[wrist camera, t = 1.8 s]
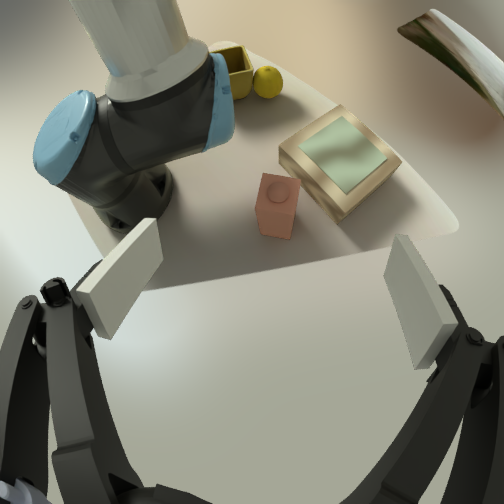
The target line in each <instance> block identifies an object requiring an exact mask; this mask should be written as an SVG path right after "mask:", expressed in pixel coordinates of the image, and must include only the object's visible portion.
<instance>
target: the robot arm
mask: <svg viewBox="0 0 504 504" xmlns="http://www.w3.org/2000/svg"><path fill="white" fill-rule="evenodd" d="M69 2H70V4H71V6H72V7H73V9H74V11H75V13H76V15H77V16H78V18H79V20H80V22H81V23H82V25H83V27H84V29H85V30H86V32H87V34H88V36H89V38H90V39H91V41H92V42H93V44H94V46H95V48H96V49H97V51H98V53H99V55H100V56H101V58H102V60H103V62H104V63H105V65H106V66H107V68H108V70H109V72H110V75H109V78H108V80H107V83H106V86H105V93H106V94H105V95H103V96H101V97H99V98H96V97H95V95H94V94H93V93H92V92H89V91H87V90H86V91H83V90H79V91H76V92H74V93H72V94H70V95H68V96H67V97H66V98H64V99H63V100H62V101H61V102H60V103H59V104H58V105H57V106H56V107H55V108H54V109H53V111H52V112H51V113H50V114H49V116H48V117H47V119H46V121H45V122H44V124H43V126H42V127H41V130H40V132H39V134H38V136H37V139H36V142H35V146H34V151H33V163H34V167H35V169H36V171H37V172H38V173H39V174H40V175H41V176H43V177H44V178H45V179H47V180H48V181H49V183H50V184H52V185H55V186H57V187H59V188H60V189H62V190H64V191H66V192H67V193H69V194H71V195H73V196H75V197H76V198H78V199H80V200H82V201H84V202H86V203H87V204H89V205H91V206H92V207H93V208H94V210H95V212H96V213H97V215H98V216H99V218H100V219H101V221H102V222H103V223H104V224H105V225H107V226H108V227H109V228H111V229H113V230H115V231H118V232H120V233H127V234H128V235H127V236H126V237H125V238H124V239H123V240H122V241H121V242H120V243H119V244H118V245H117V246H116V247H115V248H114V249H113V250H112V251H111V252H110V253H109V254H108V255H107V256H106V257H105V258H104V259H103V260H100V261H99V262H97V263H96V264H94V265H93V266H92V267H91V268H90V269H89V271H88V272H87V273H86V274H85V275H84V277H82V278H81V279H80V280H79V281H78V283H77V284H76V285H75V286H74V287H73V288H72V289H71V291H70V292H69V289H68V287H67V285H66V282H65V280H64V279H63V278H59V277H57V278H53V279H51V280H49V281H47V282H46V283H44V285H43V286H42V287H41V290H40V292H41V294H42V296H43V298H44V300H45V302H46V303H42V304H41V303H39V301H38V299H37V297H36V296H35V295H29V296H26V297H25V298H23V299H22V300H21V301H20V302H19V304H18V305H17V307H16V310H15V312H14V315H13V317H12V319H11V322H10V324H9V327H8V330H7V332H6V335H5V338H4V341H3V344H2V347H1V350H0V504H52V503H51V502H49V501H48V500H47V492H48V425H49V410H50V405H51V411H52V418H53V424H54V430H55V435H56V440H57V446H58V447H57V450H56V451H54V452H53V453H52V464H53V468H54V471H55V475H56V479H57V482H58V486H59V489H60V492H61V495H62V498H63V501H64V504H212V503H210V502H207V501H205V500H203V499H201V498H199V497H196V496H194V495H192V494H190V493H187V492H183V491H180V490H176V489H173V488H169V487H166V486H163V485H159V484H156V487H144V486H143V484H142V482H141V480H140V478H139V476H138V475H137V473H136V472H135V471H134V470H133V469H132V467H131V465H130V464H129V462H128V459H127V457H126V454H125V452H124V449H123V447H122V444H121V441H120V439H119V436H118V433H117V430H116V427H115V424H114V422H113V418H112V415H111V412H110V409H109V406H108V402H107V399H106V395H105V391H104V388H103V384H102V380H101V376H100V372H99V367H98V363H97V358H96V353H95V348H94V343H93V338H92V336H91V334H90V332H91V331H92V329H93V328H94V329H95V331H96V333H97V335H98V336H99V337H102V338H105V339H109V340H111V339H112V338H113V336H114V334H115V333H116V331H117V329H118V328H119V326H120V325H121V323H122V321H123V320H124V318H125V316H126V315H127V313H128V312H129V310H130V309H131V307H132V306H133V304H134V302H135V301H136V299H137V298H138V296H139V295H140V293H141V292H142V290H143V289H144V287H145V286H146V284H147V283H148V281H149V280H150V279H151V277H152V276H153V274H154V273H155V271H156V270H157V268H158V267H159V265H160V264H161V263H162V261H163V260H164V259H163V254H162V248H161V243H160V238H159V232H158V227H157V221H156V220H157V219H158V218H159V217H160V216H161V215H162V213H163V212H164V210H165V209H166V207H167V205H168V203H169V200H170V197H171V193H172V177H171V173H170V171H169V169H168V167H167V166H166V165H165V163H167V162H170V161H173V160H176V159H180V158H183V157H186V156H190V155H193V154H197V153H200V152H201V153H202V152H205V151H207V150H208V149H210V148H213V147H216V146H219V145H222V144H225V143H226V142H228V141H229V140H230V139H231V138H232V136H233V133H234V127H235V119H234V106H233V98H232V93H231V90H230V89H231V86H230V78H229V73H228V69H227V65H226V62H225V59H224V57H223V55H221V54H218V53H217V54H215V53H210V54H209V51H208V47H207V45H206V44H205V43H204V42H203V41H201V40H198V39H195V38H192V37H190V36H188V34H187V31H186V28H185V25H184V22H183V19H182V16H181V13H180V10H179V7H178V4H177V1H176V0H69ZM384 279H385V281H386V284H387V286H388V289H389V291H390V294H391V297H392V299H393V303H394V305H395V308H396V311H397V314H398V317H399V320H400V323H401V326H402V329H403V332H404V335H405V339H406V342H407V345H408V349H409V352H410V355H411V359H412V363H413V366H414V370H417V369H428V368H429V367H430V366H431V365H432V363H433V362H434V360H436V364H437V368H436V369H435V371H434V372H433V373H432V374H431V376H430V377H429V378H428V380H427V382H428V384H427V386H426V388H425V390H424V392H423V394H422V395H421V397H420V399H419V401H418V403H417V404H416V406H415V408H414V409H413V411H412V413H411V415H410V416H409V418H408V419H407V421H406V423H405V424H404V426H403V427H402V429H401V431H400V432H399V433H398V435H397V437H396V438H395V439H394V441H393V442H392V444H391V445H390V446H389V448H388V449H387V451H386V452H385V453H384V455H383V456H382V457H381V459H380V460H379V461H378V463H377V464H376V465H375V467H374V468H373V469H372V470H371V472H370V473H369V474H368V475H367V476H366V478H365V479H364V480H363V481H362V482H361V483H360V485H359V486H358V487H357V488H356V489H355V490H354V491H353V492H352V493H351V494H350V495H349V496H348V497H347V498H346V499H345V500H343V501H342V502H341V503H340V504H418V501H419V500H420V498H421V496H422V495H423V493H424V492H425V490H426V489H427V487H428V485H429V484H430V482H431V480H432V479H433V477H434V475H435V474H436V472H437V470H438V468H439V467H440V465H441V463H442V461H443V459H444V457H445V455H446V453H447V451H448V449H449V447H450V445H451V443H452V441H453V439H454V436H455V434H456V432H457V430H458V428H459V425H460V423H461V421H462V418H463V423H462V429H461V434H460V439H459V443H458V448H457V452H456V456H455V460H454V464H453V467H452V471H451V474H450V477H449V480H448V484H447V487H446V490H445V492H444V495H443V498H442V501H441V503H440V504H504V336H501V337H500V338H499V339H498V340H497V342H496V343H491V342H487V341H485V340H484V337H483V336H482V334H481V333H480V332H479V331H478V330H476V329H474V328H472V327H468V325H467V323H466V321H465V319H464V317H463V315H462V313H461V311H460V310H459V308H458V307H457V304H456V302H455V301H454V299H453V297H452V295H451V293H450V292H449V290H447V289H446V288H445V287H444V286H443V285H438V284H437V282H436V280H435V278H434V277H433V275H432V273H431V272H430V270H429V268H428V267H427V265H426V263H425V262H424V260H423V259H422V257H421V255H420V254H419V252H418V251H417V249H416V248H415V246H414V245H413V243H412V241H411V240H410V238H409V237H408V235H399V234H395V238H394V241H393V245H392V249H391V253H390V256H389V259H388V263H387V266H386V270H385V273H384ZM33 338H34V339H35V344H33V343H32V339H33ZM463 416H464V417H463Z"/></svg>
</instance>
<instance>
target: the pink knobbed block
mask: <svg viewBox="0 0 504 504" xmlns="http://www.w3.org/2000/svg"><path fill="white" fill-rule="evenodd" d="M300 183H301V179H295V178H290V177H284V176H279V175H273V174H267V173H263V174H262V179H261V183H260V188H259V192H258V196H257V201H256V205H255V211H256V215H257V220H258V224H259V228H260V232H261V234H262V235H267V236H273V237H278V238H283V239H288V240H290V237H291V232H292V227H293V222H294V217H295V212H296V206H297V200H298V195H299V189H300Z"/></svg>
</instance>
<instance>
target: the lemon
mask: <svg viewBox="0 0 504 504" xmlns="http://www.w3.org/2000/svg"><path fill="white" fill-rule="evenodd" d="M253 87H254V90H255V92H256V93H257V94H258V95H259V96H261V97H263V98H273V97H275V96H277V95H278V94H279V93H280V92H281V90H282V87H283V79H282V76H281V74H280V72H279V71H278V70H277V69H276V68H274V67H271V66H264V67H261V68H259V69H258V70H257V71H256V72H255V74H254V76H253Z"/></svg>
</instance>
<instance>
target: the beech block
mask: <svg viewBox="0 0 504 504" xmlns="http://www.w3.org/2000/svg"><path fill="white" fill-rule="evenodd" d="M401 163H402V161H401V160H400V159H399V158H398V157H397V156H396V155H395V153H394V152H393V151H392V150H391V149H390V148H389V147H388V146H387V145H386V144H385V143H384V142H382V141H381V140H380V139H379V138H378V137H377V136H376V135H375V134H374V133H373V132H372V131H371V130H370V129H369V128H368V127H367V126H365V125H364V124H363V123H362V122H361V121H360V120H359V119H358V118H356V117H355V116H354V115H353V114H352V113H351V112H349V111H348V110H347V109H346V108H344V107H343V106H342V105H339V106H337V107H335V108H334V109H332V110H331V111H329V112H327V113H326V114H324V115H323V116H321V117H320V118H318V119H317V120H315V121H314V122H312V123H311V124H309V125H308V126H306V127H305V128H303V129H302V130H300V131H299V132H297V133H296V134H294V135H293V136H291V137H290V138H288V139H287V140H285V141H284V142H283V143H281V144H280V145H279V164H280V165H281V166H282V167H283V168H284V169H285V170H286V171H287V172H288V173H289V174H290V175H291V176H292V177H293V178H295V179H301V183H300V185H301V186H302V187H303V188H304V189H305V190H306V191H307V193H308V194H309V195H310V196H311V197H312V198H313V199H314V200H315V201H316V202H317V203H318V204H319V205H320V206H321V208H322V209H323V210H324V211H325V212H326V213H327V214H328V215H329V216H330V217H331V219H332V220H333V221H334V222H335V223H336V224H338V223H339V222H341V221H342V220H343V219H344V218H345V217H346V216H347V215H348V214H350V213H351V212H352V211H353V210H354V209H355V208H356V207H357V206H359V205H360V204H361V203H362V202H363V201H364V200H365V199H366V198H368V197H369V196H370V195H371V194H372V193H373V192H374V191H375V190H376V189H377V188H379V187H380V186H381V185H382V184H383V183H384V182H385V181H386V180H387V179H388V178H389V177H390V176H391V175H392V174H393V173H394V172H395V170H396V169H397V168H398V167H399V166H400V164H401Z"/></svg>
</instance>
